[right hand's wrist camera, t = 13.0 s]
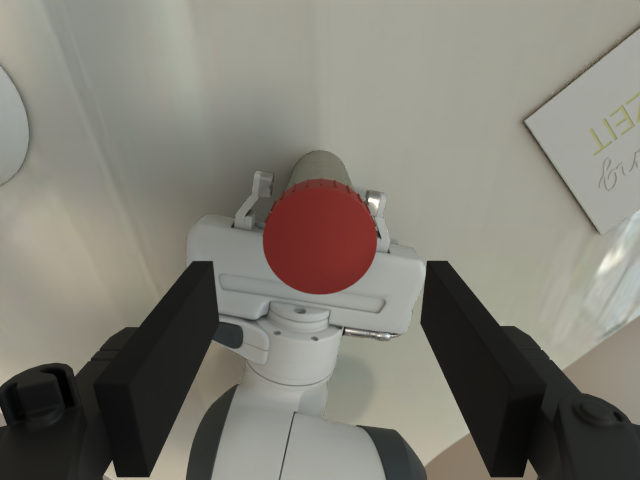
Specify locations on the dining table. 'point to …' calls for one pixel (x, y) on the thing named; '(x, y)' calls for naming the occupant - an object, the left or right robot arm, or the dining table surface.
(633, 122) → the invitation card
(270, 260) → the lid
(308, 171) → the grey cylindrical bottle
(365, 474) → the left robot arm
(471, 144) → the dining table surface
